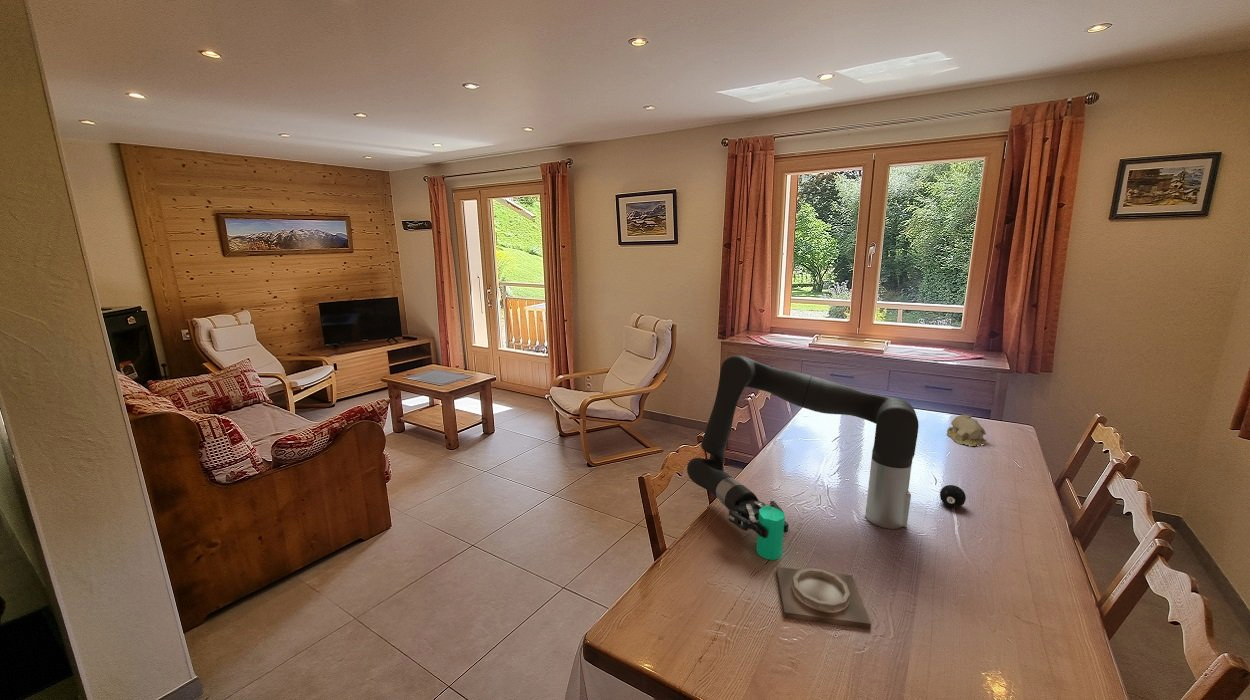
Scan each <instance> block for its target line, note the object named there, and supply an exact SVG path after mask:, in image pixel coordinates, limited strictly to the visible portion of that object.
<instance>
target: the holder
mask: <svg viewBox="0 0 1250 700" xmlns="http://www.w3.org/2000/svg"><path fill="white" fill-rule="evenodd" d="M775 571H776V577H777V582H778V588H779V594H780V595H779V596H780V600H781V605H782V612H783V617H784V618H786V619H792V620H793V619H794V620H800V621H801V620H802V621H809V622H815V623H821V624H822V623H823V624H829V625H831V624H832V625H836V626H837V625H838V626H844V627H852V628H853V627H854V628H861V629H868V630H871V628H872V621H871V619H870V617H869V615H868V612H867V610H866V607H865V605H864V601H863V600H862V597H861V594H860V592H859V590H858V587H857V585H856V582H855V580H854V577H853V575H851V574H842V573H833V572H829V571H827V570H825V569H822V568H820V569H819V568H815V567H814V568H812V567H808V568H803V569H799V568H789V567H784V566H783V567H781V566H776V570H775Z"/></svg>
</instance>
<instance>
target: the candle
mask: <svg viewBox="0 0 1250 700" xmlns="http://www.w3.org/2000/svg"><path fill="white" fill-rule="evenodd" d="M783 512H784V511H783ZM783 512H782V511H780V510H779V509H776V508H774V507H771V506H765V507H762V508H761V509H760V510H759V518H758V520H757V522H759V523H760V524H761V525H762V526H764V527H765V528H766V529H767V531H768V535H767V538H763V537H761V536H759V535H758V534H757V533H756V534H757V536H756V547H755V548H756V553H757V554H758V555H759V557H761V558H764V559H766V560H770V561H771V560H773V561H774V560H778V559H780V558H781V557H782V555H783V545H784V544H783V543H784V535H785V533H784V523H785V521H786V515H785V512H784V513H783Z"/></svg>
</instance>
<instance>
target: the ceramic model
mask: <svg viewBox="0 0 1250 700" xmlns="http://www.w3.org/2000/svg"><path fill="white" fill-rule="evenodd" d="M950 424H951V425H952V427H951V426H949V427H948V428H947V429H946V432H947V433H946V436H948V437H950V438H951V439H952V440H953V442H955V443H956V444H959V445H962V444H965V445H970V446H976V445H981V444H986V443H987V440H986V439H985V438H984V435H987V433H986V430H985V428H984V427H983V426H982V424H980V422H979V421H978V420H977V419H976V418H972V415H971V414H959V415H958V416H955V418H954V419H952V421H951V423H950ZM965 445H964V446H965ZM970 446H969V447H970ZM976 447H977V446H976Z"/></svg>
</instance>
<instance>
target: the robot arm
mask: <svg viewBox="0 0 1250 700" xmlns="http://www.w3.org/2000/svg"><path fill="white" fill-rule="evenodd" d="M718 378H719V379H718V385H717V386H718V387H717V391H716V396H715V400H714V403H713V406H712V410H711V412H710V416H709V419H708V422H707V424H706V427H705V430H704V433H703V437H702V439H701V444H700V445H701V446H700V447H701V450H703V451H704V452H706V453H707V454H709V458H704V457H694V458H692V459H690V460H689V461H688V463H687V467H686V472H687V473H686V474H687V475H688V478H689V479H690V480H691V482H692V483H694V484H696V485H698V486H699V487H701V488H703V489H705V490H706V491H709V492H710V493H712V495H713V496H714V497H716V499H718V501H719V502H720V503H721V504H722V505H723V506H724V507H725V508H727V510H728V521H729V522H730V523H732V524H734V525H735V526H736V527H737V528H739V529H741V530H742V531H744V532H747V531H748V530H751V531H753V532H755V533H756V534H758V535H759V536H761V537H763V538H767V535H768V531H767V529H766V528H765V527H764V526H762V525H761V524H760V523H759V522H758V518H759V510H760V509H761V508H762V507H765V506H771V507H774V508H776V509H779V510H780V511H782V512H783V513H784V514H785V512H784V510H783V509H782V508H781V507H780V506H779V505H778V504H777V502H776V501H774V500H770V501H769V503H766V504H765V503H764V502H762V501H760V500H759V498H758V497H757V495H756V494H755V493H754V492H753V491H752V490H750V489H749V488H748V487H746V486H745V485H744V484H742V483H741V482H740V481H739V480H736V479H735V478H734V477H732V476H731V475H730V474H729V473H727V472H725V471H724V466H725V465H724V463H725V462H724V461H725V450H726V447H727V443H728V441H729V438H730V435H731V431H732V426H733V422H734V417H735V412H736V407H737V405H738V403H739V399H740V397H741V395H742V393H743V391H744V390H745V388H746V387H747V388H751V389H755V390H760V391H763V392H767V393H770V394H772V395H773V396H776V397H777V398H780V399H782V400H784V401H785V402H787V403H790V404H792V405H795V406H798V407H800V408H803V409H807V410H810V411H812V412H816V413H821V414H826V415H827V414H829V415H841V416H842V415H843V416H852V417H857V418H859V419H863V420H866V421H868V422H871V423H873V424H875V432H874V441H873V442H874V443H873V447H872V451H871V452H872V453H871V459H870V460H871V462H870V468H869V469H870V470H869V478H868V479H869V480H868V485H867V486H868V489H867V497H866V503H865V506H866V507H865V514H864V515H865V518H866V520H867V521H869V522H870V523H872V524H873V525H875V526H878V527H880V528H883V529H890V530H891V529H892V530H893V529H894V530H896V529H897V530H898V529H901V528H907V527H908V521H909V520H908V519H909V513H910V512H909V511H910V507H911V498H912V497H911V496H912V494H911V492H910V491H909V488H910V480H911V472H912V465H913V460H914V457H915V453H916V446H917V440H918V433H919V420H918V416H917V413H916V410H915V408H914V407H913V405H911V404H910V403H909V402H908V401H906V400H903V399H901V398H896V397H892V396H886V395H882V394H881V395H880V394H875V393H871V392H865V391H862V390H858V389H856V388H853V387H851V386H847V385H843V384H840V383H837V382H833V381H831V380H829V379H824V378H821V377H817V376H815V375H814V376H813V375H810V374H806V373H802V372H798V371H792V370H787V369H780V368H776V367H773V366H769V365H767V364H763V363H762V362H759V361H756V360H754V359H752V358H750V357H747V356H745V355H738V354H737V355H731V356H729V357H727V358H726V359H724V361H723V362H722V364H721V367H720V372H719V377H718ZM787 533H789V523H788V522H787V521H786V520H785V523H784V534H787Z"/></svg>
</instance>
